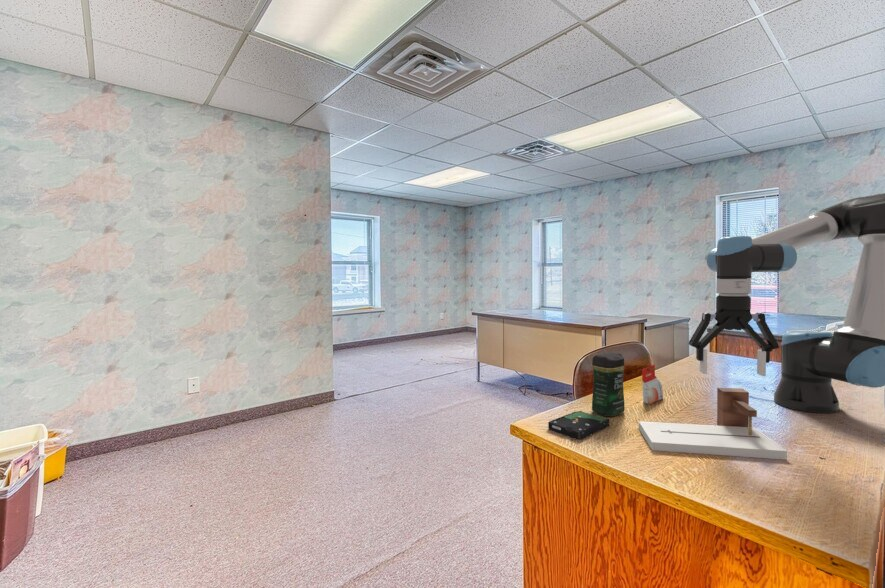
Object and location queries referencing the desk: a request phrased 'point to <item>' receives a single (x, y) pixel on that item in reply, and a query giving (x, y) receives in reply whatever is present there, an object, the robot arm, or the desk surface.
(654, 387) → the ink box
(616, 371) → the coffee jar
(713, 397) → the desk surface
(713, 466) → the desk surface
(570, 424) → the disk drive
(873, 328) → the robot arm
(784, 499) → the desk surface
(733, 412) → the marking gauge
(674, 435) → the grey board
